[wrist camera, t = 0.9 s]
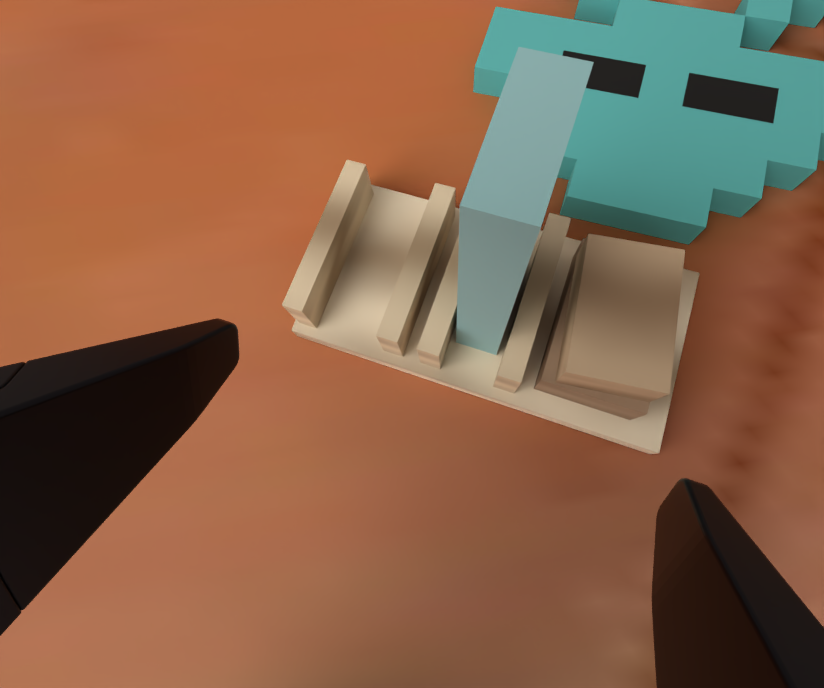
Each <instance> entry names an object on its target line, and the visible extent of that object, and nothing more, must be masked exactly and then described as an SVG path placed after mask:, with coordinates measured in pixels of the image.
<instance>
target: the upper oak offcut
mask: <svg viewBox="0 0 824 688" xmlns="http://www.w3.org/2000/svg"><path fill="white" fill-rule="evenodd" d="M684 256H685V250H683V249H677V248H671V247H665V246H659V245H653V244H648V243H642V242H636V241H630V240H624V239H618V238H612V237H607V236H601V235H595V234H588V236H587V237H586V239H585V241H584V243H583V245H582V246H581V248H580V250H579V252H578V254H577V256H576V262H575V268H574V274H573V280H572V285H571V291H570V297H569V303H568V309H567V315H566V321H565V327H564V333H563V339H562V344H561V350H560V356H559V362H558V368H557V374H556V380H555V382H556V383H561V384H566V385H570V386H575V387H580V388H584V389H589V390H594V391H598V392H603V393H607V394H612V395H617V396H621V397H626V398H631V399H635V400H640V401H644V402H651V401H653V400H656V399H658V398H661V397H663V396H666V395H668V394H670V387H671V378H672V368H673V359H674V349H675V340H676V331H677V321H678V312H679V303H680V293H681V284H682V275H683V265H684Z"/></svg>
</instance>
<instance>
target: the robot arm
mask: <svg viewBox="0 0 824 688" xmlns="http://www.w3.org/2000/svg"><path fill="white" fill-rule="evenodd" d="M238 360H239V341H238V329H237V327H236V325H235V324H233V323H231V322H228V321H225V320H222V319H212V320H208V321H203V322H199V323H194V324H190V325H185V326H181V327H177V328H172V329H168V330H163V331H159V332H154V333H150V334H145V335H141V336H137V337H132V338H128V339H123V340H119V341H114V342H110V343H105V344H101V345H96V346H92V347H88V348H83V349H79V350H74V351H70V352H65V353H61V354H56V355H52V356H48V357H43V358H39V359H34V360H30V361H27V362H26V363H24V362H20V363H16V364H12V365H7V366H3V367H0V636H1V635H2V633H3V632H4V631H5V630H6V629H7V628H8V627H9V626H10V625H11V624H12V622H13V621H14V620H15V619H16V618H17V617H18V616H19V615H20V614H21V610H24V609H25V608H26V607H27V606H28V604H29V603H30V602H31V601H32V600H33V599H34V598H35V597H36V596H37V595H38V593H39V592H40V591H41V590H42V589H43V588H44V587H45V586H46V585H47V584H48V582H49V581H50V580H51V579H52V578H53V577H54V576H55V575H56V574H57V573H58V572H59V570H60V569H61V568H62V567H63V566H64V565H65V564H66V563H67V562H68V561H69V559H70V558H71V557H72V556H73V555H74V554H75V553H76V552H77V551H78V550H79V548H80V547H81V546H82V545H83V544H84V543H85V542H86V541H87V540H88V539H89V538H90V536H91V535H92V534H93V533H94V532H95V531H96V530H97V529H98V528H99V527H100V525H101V524H102V523H103V522H104V521H105V520H106V519H107V518H108V517H109V516H110V514H111V513H112V512H113V511H114V510H115V509H116V508H117V507H118V506H119V505H120V503H121V502H122V501H123V500H124V499H125V498H126V497H127V496H128V495H129V494H130V493H131V491H132V490H133V489H134V488H135V487H136V486H137V485H138V484H139V483H140V482H141V480H142V479H143V478H144V477H145V476H146V475H147V474H148V473H149V472H150V471H151V469H152V468H153V467H154V466H155V465H156V464H157V463H158V462H159V461H160V460H161V458H162V457H163V456H164V455H165V454H166V453H167V452H168V451H169V450H170V449H171V448H172V446H173V445H174V444H175V443H176V442H177V441H178V440H179V439H180V438H181V437H182V435H183V434H184V433H185V432H186V431H187V430H188V429H189V428H190V427H191V425H192V424H193V423H194V422H195V421H196V420H197V418H198V417H199V416H200V414H201V413H202V412H203V411H204V409H205V408H206V407H207V405H208V404H209V402H210V401H211V400H212V398H213V397H214V396H215V394H216V393H217V392H218V390H219V389H220V387H221V386H222V385H223V383H224V382H225V381H226V379H227V378H228V376H229V375H230V374H231V372H232V371H233V370H234V368H235V367H236V365H237V363H238ZM652 617H653V634H654V650H655V667H656V684H657V688H824V627H823V626H822V625H821V624H820V622H819V621H818V620H817V619H816V618H815V616H814V615H813V614H812V613H811V611H810V610H809V609H808V608H807V606H806V605H805V604H804V603H803V602H802V600H801V599H800V598H799V597H798V595H797V594H796V593H795V592H794V591H793V589H792V588H791V587H790V586H789V584H788V583H787V582H786V581H785V579H784V578H783V577H782V576H781V575H780V573H779V572H778V571H777V570H776V568H775V567H774V566H773V565H772V564H771V562H770V561H769V560H768V559H767V557H766V556H765V555H764V554H763V552H762V551H761V550H760V549H759V548H758V546H757V545H756V544H755V543H754V541H753V540H752V539H751V538H750V537H749V535H748V534H747V533H746V532H745V530H744V529H743V528H742V527H741V525H740V524H739V523H738V522H737V521H736V519H735V518H734V517H733V516H732V514H731V513H730V512H729V511H728V510H727V508H726V507H725V506H724V505H723V503H722V502H721V501H720V500H719V499H718V497H717V496H716V495H715V494H714V492H713V491H712V490H711V489H710V488H709V487H708V486H707V485H704V484H702V483H699V482H696V481H693V480H690V479H687V478H683V479H680V480H679V481H678V482H677V483H676V485H675V486H674V487H673V489H672V490H671V492H670V493H669V494H668V496H667V497H666V499H665V500H664V501H663V503H662V504H661V506H660V508H659V510H658V513H657V519H656V534H655V549H654V565H653V581H652Z"/></svg>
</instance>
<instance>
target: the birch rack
mask: <svg viewBox="0 0 824 688" xmlns="http://www.w3.org/2000/svg"><path fill="white" fill-rule="evenodd" d="M459 213H460V208H456V207H455V188H453V187H449V186H446V185H442V184H438V183H435V185H434V188H433V190H432V193H431V196H430V198H429V200H426V199H423V198H419V197H415V196H412V195H408V194H404V193H400V192H397V191H393V190H389V189H386V188H382V187H378V186H374V185H371V182H370V178H369V175H368V171H367V168H366V165H365V164H362V163H358V162H354V161H350V160H347V161H346V163H345V165H344V167H343V170H342V172H341V174H340V176H339V178H338V181H337V183H336V185H335V187H334V190H333V192H332V194H331V196H330V199H329V201H328V203H327V205H326V208H325V210H324V212H323V214H322V216H321V219H320V221H319V223H318V225H317V228H316V230H315V232H314V234H313V237H312V239H311V241H310V243H309V246H308V248H307V250H306V252H305V254H304V257H303V259H302V261H301V263H300V266H299V268H298V270H297V272H296V275H295V277H294V279H293V281H292V284H291V286H290V288H289V290H288V292H287V295H286V297H285V299H284V301H283V304H282V306H283V307H284V308H285V309H286V310H287V311H288V312H289V313H290V314H291V315H292V316H293V317H294V318H295V319H296V321H295V323H294V326H293V328H292V331H293V332H294V333H295V334H296V335H297V336H299V337H302V338H305V339H308V340H311V341H314V342H317V343H320V344H323V345H326V346H329V347H332V348H335V349H338V350H340V351H343V352H346V353H349V354H352V355H355V356H358V357H361V358H364V359H367V360H370V361H373V362H376V363H379V364H382V365H385V366H388V367H391V368H394V369H397V370H400V371H403V372H406V373H409V374H412V375H415V376H418V377H421V378H424V379H427V380H430V381H433V382H436V383H439V384H442V385H445V386H448V387H451V388H454V389H457V390H460V391H463V392H466V393H469V394H472V395H475V396H478V397H481V398H484V399H487V400H490V401H493V402H496V403H499V404H501V405H504V406H507V407H510V408H513V409H516V410H519V411H522V412H525V413H528V414H531V415H534V416H537V417H540V418H543V419H546V420H549V421H552V422H555V423H558V424H561V425H564V426H567V427H570V428H573V429H576V430H579V431H582V432H585V433H588V434H591V435H594V436H597V437H600V438H603V439H606V440H609V441H612V442H615V443H618V444H621V445H624V446H627V447H630V448H633V449H636V450H639V451H642V452H645V453H648V454H656V453H659V451H660V447H661V442H662V438H663V433H664V429H665V425H666V420H667V416H668V411H669V407H670V402H671V398H672V393H673V389H674V385H675V380H676V376H677V371H678V367H679V362H680V358H681V353H682V349H683V344H684V340H685V336H686V331H687V327H688V322H689V318H690V313H691V309H692V304H693V300H694V296H695V291H696V287H697V282H698V278H699V273H698V272H694V271H690V270H687V269H683V275H682V284H681V293H680V303H679V312H678V321H677V331H676V340H675V349H674V359H673V368H672V378H671V387H670V394H668V395H666V396H663V397H661V398H658V399H656V400H653V401H651V402H650V404H649V409H648V413H647V415H644V416H641V417H638V418H635V419H632V420H627V419H624V418H621V417H618V416H615V415H612V414H609V413H606V412H603V411H600V410H597V409H594V408H591V407H588V406H585V405H581V404H578V403H575V402H572V401H569V400H566V399H563V398H560V397H557V396H554V395H551V394H548V393H545V392H542V391H539V390H535V389H534V386H535V382H536V379H537V376H538V372H539V369H540V366H541V362H542V359H543V355H544V352H545V349H546V345H547V342H548V339H549V335H550V332H551V329H552V325H553V322H554V318H555V315H556V312H557V308H558V305H559V302H560V298H561V295H562V292H563V288H564V285H565V281H566V278H567V275H568V271H569V268H570V265H571V261H572V258H573V256H574V254H575V252H576V250H577V248H578V247H579V245H580V243H581V241H579V240H575V239H571V238H568V237H566V234H567V231H568V227H569V224H570V221H571V218H568V217H564V216H560V215H556V214H553V213H549V215H548V218H547V221H546V224H545V226H544V229H543V231H542V230H540V232H539V234H538V237H537V240H536V243H535V246H534V249H533V251H532V254H531V257H530V260H529V263H528V266H527V269H526V271H525V274H524V277H523V280H522V283H521V286H520V289H519V291H518V294H517V297H516V300H515V303H514V306H513V309H512V311H511V314H510V317H509V320H508V323H507V326H506V328H505V331H504V334H503V337H502V340H501V343H500V346H499V348H498V351H497V354H496V355H494V354H491V353H488V352H485V351H482V350H478V349H475V348H472V347H469V346H466V345H463V344H460V343H456V328H457V290H458V252H459Z"/></svg>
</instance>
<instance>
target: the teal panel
mask: <svg viewBox="0 0 824 688" xmlns="http://www.w3.org/2000/svg"><path fill="white" fill-rule="evenodd" d="M593 63H594V62H591V61H586V60H581V59H576V58H571V57H567V56H562V55H557V54H552V53H547V52H542V51H537V50H532V49H528V48H523V47H518V50H517V52H516V55H515V58H514V60H513V63H512V66H511V69H510V71H509V74H508V77H507V79H506V82H505V85H504V87H503V90H502V93H501V96H500V98H499V101H498V104H497V106H496V109H495V112H494V114H493V117H492V120H491V123H490V125H489V128H488V131H487V133H486V136H485V139H484V141H483V144H482V147H481V149H480V152H479V155H478V158H477V160H476V163H475V166H474V168H473V171H472V174H471V176H470V179H469V182H468V185H467V187H466V190H465V193H464V195H463V198H462V201H461V203H460V213H459V252H458V290H457V328H456V343H460V344H463V345H466V346H469V347H472V348H475V349H478V350H482V351H485V352H488V353H491V354H494V355H496V354H497V351H498V348H499V346H500V343H501V340H502V337H503V334H504V331H505V328H506V326H507V323H508V320H509V317H510V314H511V311H512V309H513V306H514V303H515V300H516V297H517V294H518V291H519V289H520V286H521V283H522V280H523V277H524V274H525V271H526V269H527V266H528V263H529V260H530V257H531V254H532V251H533V249H534V246H535V243H536V240H537V237H538V234H539V232H540V229H541V226H542V223H543V219H544V216H545V213H546V210H547V207H548V204H549V201H550V198H551V194H552V191H553V188H554V185H555V182H556V179H557V176H558V173H559V169H560V166H561V163H562V160H563V157H564V154H565V151H566V148H567V144H568V141H569V138H570V135H571V132H572V129H573V126H574V123H575V120H576V116H577V113H578V110H579V107H580V104H581V101H582V98H583V95H584V91H585V88H586V85H587V82H588V79H589V76H590V73H591V70H592V66H593Z"/></svg>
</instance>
